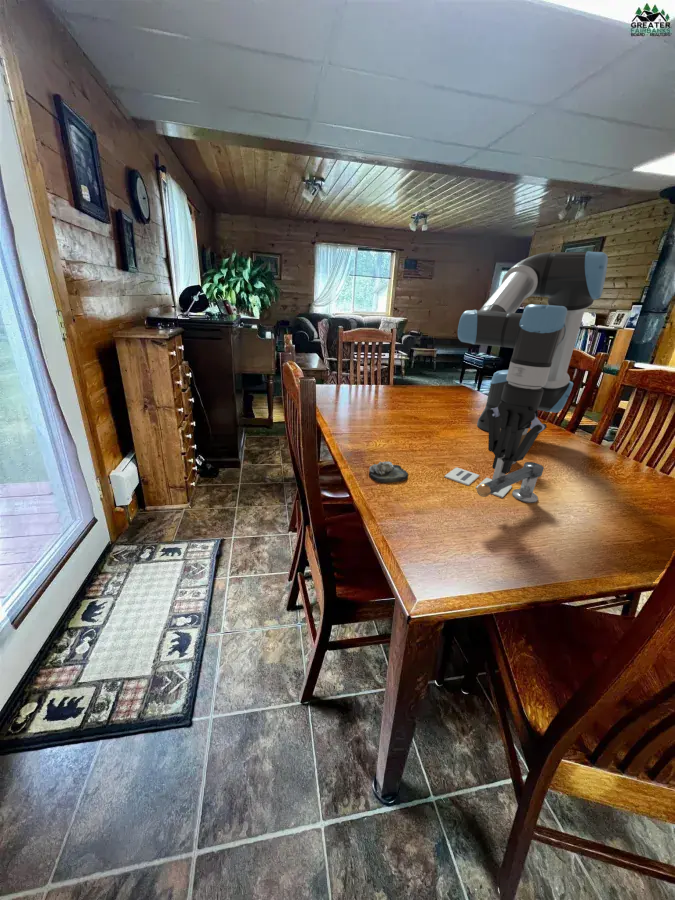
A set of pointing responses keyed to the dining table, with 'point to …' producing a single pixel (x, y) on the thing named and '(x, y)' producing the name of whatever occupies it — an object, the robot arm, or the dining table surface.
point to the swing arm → (510, 478)
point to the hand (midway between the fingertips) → (497, 482)
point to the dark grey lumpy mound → (387, 472)
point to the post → (526, 490)
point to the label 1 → (462, 476)
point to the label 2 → (498, 493)
